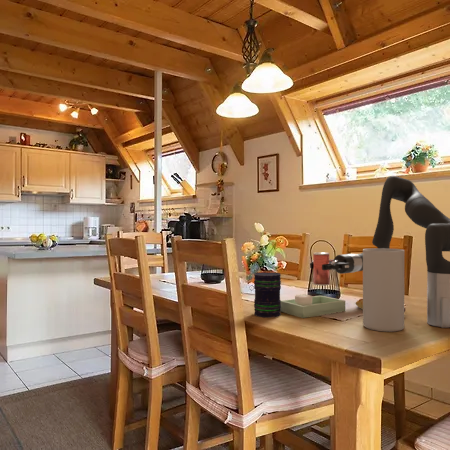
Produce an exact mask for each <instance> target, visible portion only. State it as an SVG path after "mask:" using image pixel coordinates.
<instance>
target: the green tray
mask: <svg viewBox="0 0 450 450" xmlns="http://www.w3.org/2000/svg"><path fill="white" fill-rule="evenodd" d="M280 309H281V311H280V313H283V314H287V315H291V316H295V317H298V318H301V319H307V318H311V317H319V316H323V315H324V316H325V314H326V315H331V313H332V314H337V313H336V312H338V313H343V312H342V311H344V312H346V300H343V299H341V298H340V299H339V298H334V297H330V296H325V295H315V296H312V305H307V306H301V305H297V304H295V298H291V299H285V300H281V308H280Z"/></svg>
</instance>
